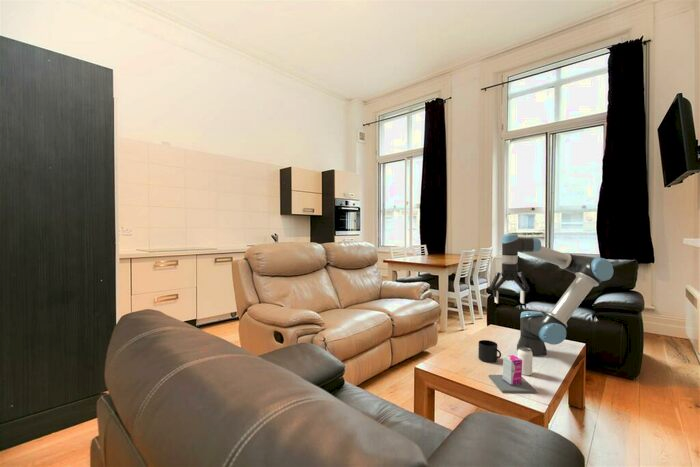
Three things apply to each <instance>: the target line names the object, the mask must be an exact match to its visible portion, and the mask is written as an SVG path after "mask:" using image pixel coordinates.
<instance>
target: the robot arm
mask: <svg viewBox="0 0 700 467" xmlns="http://www.w3.org/2000/svg"><path fill="white" fill-rule="evenodd" d="M519 253H521V254H524V255H526V256H530V257H533V258H535V259H539V260H541V261H544V262H546V263H550V264H553V265H555V266H558V267H559V268H560V269H561V270H565V271H567V272H569V273H572V274H574V275H575V278H574V279H573V281H572V283H571V284H570V285H569V286H568V287H567V289H566V291H564V293H563V294H562V296H561V297H560V298H559V300H558V301H557V302H556V304H554V306H553V307H552V309H551V310H550V311H549V312H544V313H543V312H541V311H533V310H532V311H531V310H525V311H521V313H520V318H519V319H520V332H519V333H520V337H519V339H518V341H517V344H516V350H517V351H518V349H519V347H527V348H530V349H531V351H532V357H544V356H546V355H547V352H548V351H547V347H546V344H549V345H554V346H555V345H559V344H561V343H563V342H564V341H565V339H566V338H567V330H566V329H567V328H568V324H567V322H568V321H569V319H570V318H571V317H572V316H573V315H574V313H575V312H576V310H577V309H578V307H579V306H580V304H582V302H583V301H584V299H585V298H586V296H587V295H589V293H590V292H591V290H592V289H593V288H595V287H598V286H600V284H601V283H602V282H605V281H609V280H611V278H612V277H613V275H614V268H613V267H614V266H613V264H612V263H611V261H609V260H608V259H606V258H603V257H599V256H597V257H595V256H586V255H577V254H572V253H569V252H564V253H563V252H560V251H558V250H554V249H552V248H549V247H545V246H543V245H542V242H541V239H539V238H538V237H521V236H519V235H518V234H516V233H514V234H513V233H507V234H506V233H505V234H502V240H501V262H502V263H501V272H498V271H495V275H494V278H493V279H492V282H491V283H490V285H489V289H490V290H492V295H493V297H494V303H496V304H499V291H498V290H499V288H500V287H502V285H503V284H504V282H507V281H508V282H510V281H511V282H514V283H516V285H518V287H519V288H520V289H521V290H520V294H519V297H520V298H519V302H520V304H523V305H524V304H525V298H526V296H527V292H528V291H530V290H531V289H530V286H529V284H528V282H527V280H526V277H525V273H524V272H523V271H519V272H518V269H519V268H518V261H519V260H518V259H519V257H518V256H519V255H518V254H519ZM517 277H519V279H518V278H517ZM499 279H500V280H499ZM521 282H522V283H521ZM545 343H546V344H545Z"/></svg>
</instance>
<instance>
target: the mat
mask: <svg viewBox="0 0 700 467" xmlns="http://www.w3.org/2000/svg"><path fill="white" fill-rule="evenodd" d="M488 378H489V379H490V380H491V381H492V382H493V384H494V385H495V386H496V387H497V389H499V391H500V392H501V393H503V394H504V393H505V394H508V393H509V394H538V389H536V388H535V387H534V386H533V385H532V384H530V383H529V381H527V380H526V379H525V378H524V377H523V376H522V380H521V384H520V385H519V384H518V385H509V384H508V383H506V382H505V381H503V374H488Z"/></svg>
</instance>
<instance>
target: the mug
mask: <svg viewBox="0 0 700 467" xmlns="http://www.w3.org/2000/svg"><path fill="white" fill-rule="evenodd" d="M477 353H478V359H479V360H480V361H481V362H484V363H489V364H491V363H492V364H493V363H497V362H498V359H500V358H501V357H502V353H501V351H500V350H499V349H498V343H497V342H495V341H492V340H487V339H482V340H479V341H478V352H477ZM498 354H499V355H498Z"/></svg>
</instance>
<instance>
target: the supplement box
mask: <svg viewBox="0 0 700 467" xmlns="http://www.w3.org/2000/svg"><path fill="white" fill-rule="evenodd" d="M502 360H503V361H502V375H503V381H505V382H506V383H508V384H509V385H518V384H519V385H520V384H521V380H522V377H523V375H522V360H521V359H519V358H518V356H516V355H514V354H512V355H511V354H509V355H503V357H502Z"/></svg>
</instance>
